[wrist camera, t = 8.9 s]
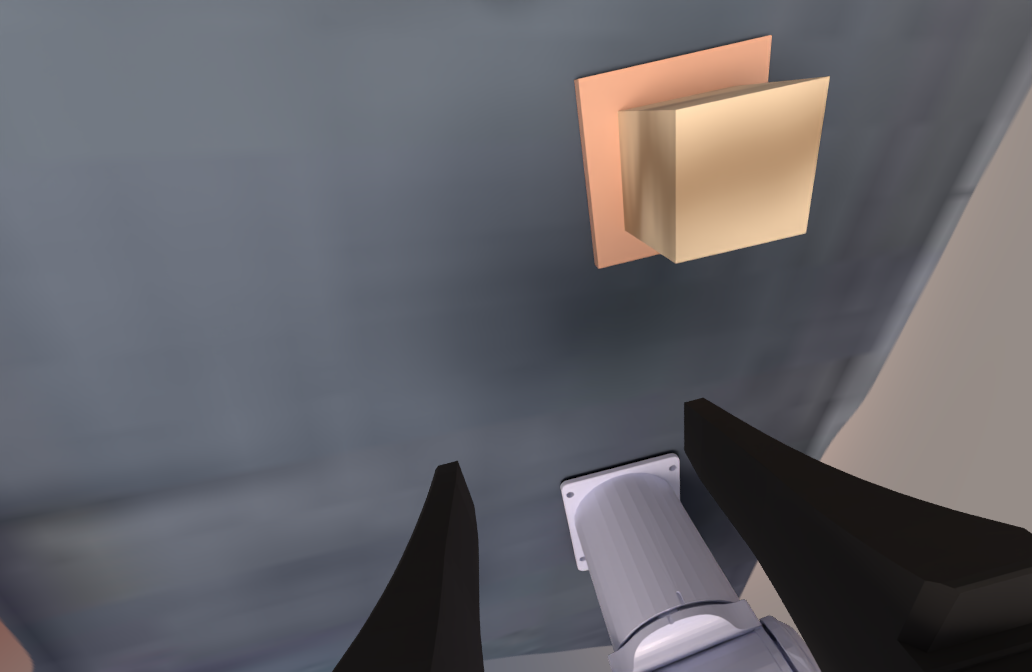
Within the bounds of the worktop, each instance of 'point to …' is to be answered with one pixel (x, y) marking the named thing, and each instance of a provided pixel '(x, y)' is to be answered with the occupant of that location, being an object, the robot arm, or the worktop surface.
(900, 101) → the worktop surface
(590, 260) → the worktop surface
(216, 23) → the worktop surface
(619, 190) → the coaster
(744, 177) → the block
